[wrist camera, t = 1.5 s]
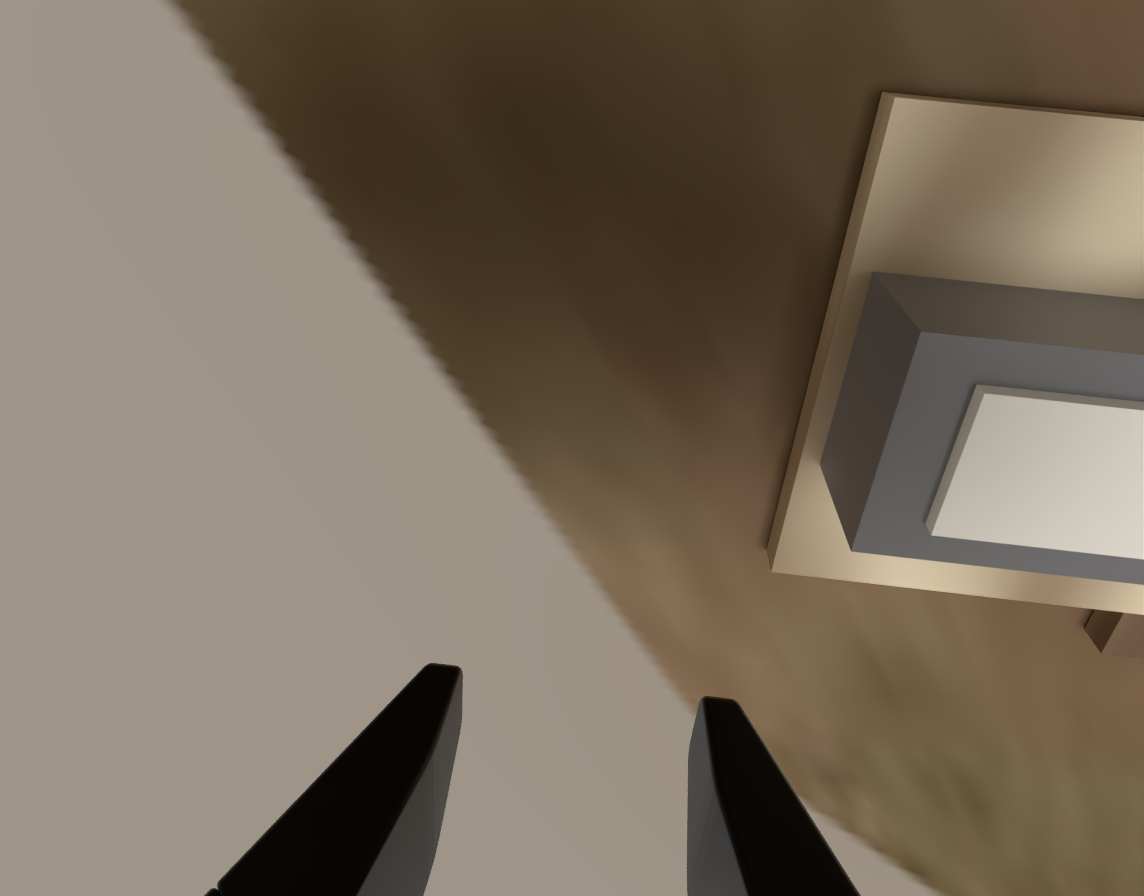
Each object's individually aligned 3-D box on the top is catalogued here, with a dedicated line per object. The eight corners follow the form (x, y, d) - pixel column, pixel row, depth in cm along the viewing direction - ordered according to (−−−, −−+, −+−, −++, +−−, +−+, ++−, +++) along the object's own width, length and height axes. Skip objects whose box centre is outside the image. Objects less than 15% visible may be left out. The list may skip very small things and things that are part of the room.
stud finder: (1196, 305, 17) (1331, 382, 14) (1101, 496, 20) (1197, 602, 17) (872, 271, 18) (927, 339, 14) (819, 464, 20) (854, 562, 17)
